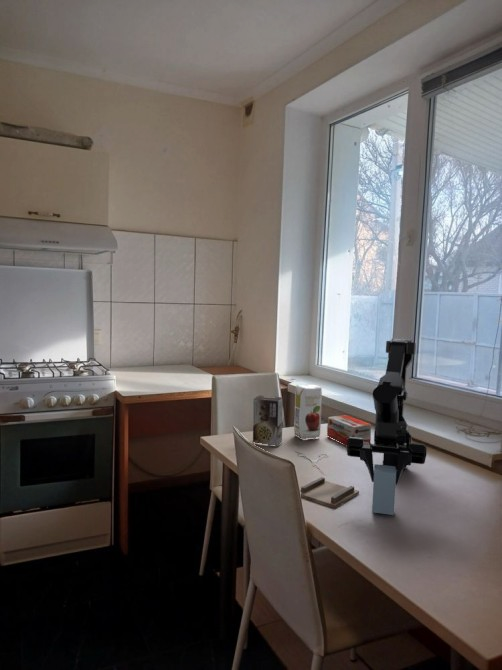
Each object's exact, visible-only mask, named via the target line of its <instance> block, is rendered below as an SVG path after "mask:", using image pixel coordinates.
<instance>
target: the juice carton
mask: <svg viewBox="0 0 502 670" xmlns="http://www.w3.org/2000/svg"><path fill="white" fill-rule="evenodd" d="M322 391H323V390H322V387H321V386H319V385H316V384H305V385H302V384H296V387H295V392H294V393H295V394H294V397H295V398H294V416H293V417H294V421H293V424H294V425H293V433H294V436H295V435H297V436H299V437H300V438H302V439H306V438H316V437H319V438H320V437H321V436H320V435H321V423H322V422H321V421H322V401H323V400H322V399H323V396H322V395H323V393H322Z"/></svg>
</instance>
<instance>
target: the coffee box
mask: <svg viewBox="0 0 502 670" xmlns="http://www.w3.org/2000/svg"><path fill="white" fill-rule="evenodd" d="M252 401H253V410H252V411H253V412H252V413H253V414H252V416H253V417H252V419H253V420H252V443H253V442H255V443H262V444H268V445H275V446H278V445H279V444H280V443H281V442H282V443H283V414H284V411H283V407H284V405H283V403H284V397H282V396H281V397H279V396H269V395H257V396H256V397H254V398H253V399H252ZM282 443H281V444H282ZM281 444H280V445H281ZM280 445H279V446H280ZM279 446H278V447H279Z"/></svg>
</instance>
